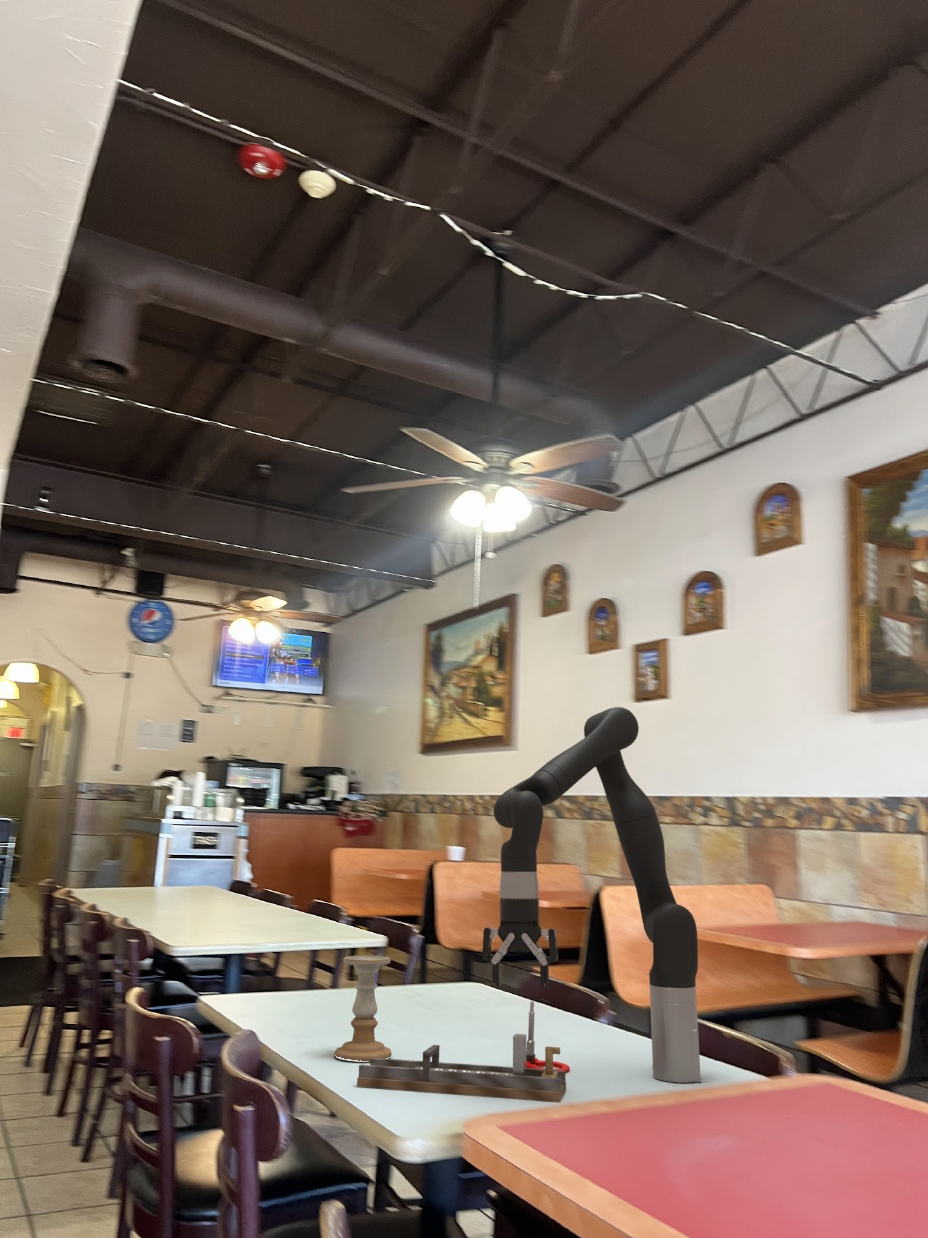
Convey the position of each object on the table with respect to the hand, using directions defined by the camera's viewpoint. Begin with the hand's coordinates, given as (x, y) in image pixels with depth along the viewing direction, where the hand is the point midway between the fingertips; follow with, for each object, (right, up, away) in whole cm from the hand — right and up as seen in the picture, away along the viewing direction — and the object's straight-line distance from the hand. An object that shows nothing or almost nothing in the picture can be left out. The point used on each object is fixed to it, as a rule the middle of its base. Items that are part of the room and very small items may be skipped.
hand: (520, 986), depth 168 cm
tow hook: (+7, -24, +15) cm, 29 cm away
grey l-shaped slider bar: (-10, -17, -2) cm, 19 cm away
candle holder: (-32, -25, +24) cm, 48 cm away
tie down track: (-11, -18, -2) cm, 21 cm away
